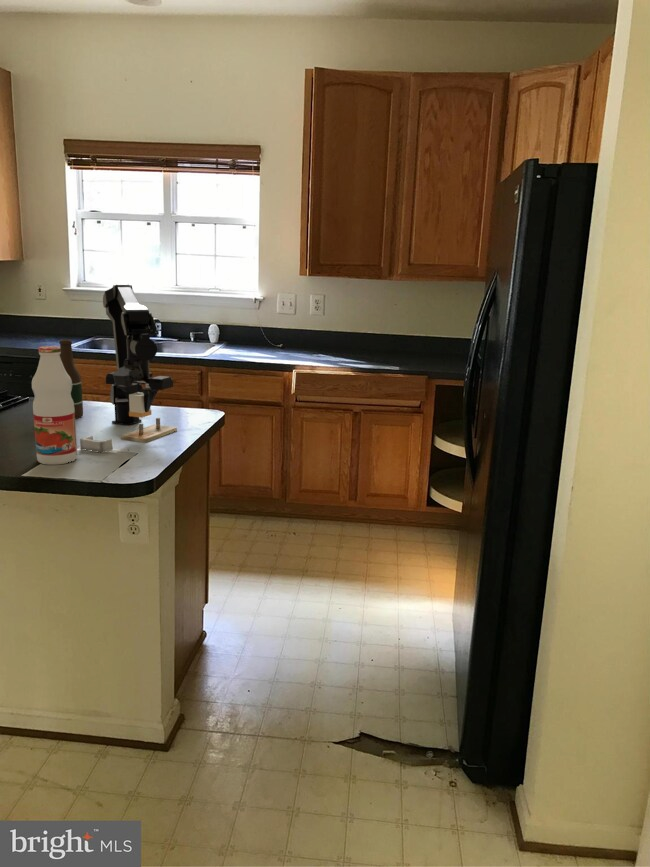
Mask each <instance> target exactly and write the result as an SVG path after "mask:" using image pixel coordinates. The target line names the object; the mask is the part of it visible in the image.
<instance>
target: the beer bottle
mask: <svg viewBox="0 0 650 867" xmlns="http://www.w3.org/2000/svg"><path fill="white" fill-rule="evenodd" d="M58 344H59V347H60V349H61V352H60V353H61V354H60V359H61V361H62V364H63V366H64V368H65V370H66V372H67V374H68V375H69V376H70V378H71V380H72V390H71V397H72V399H73V402H74V410H75V418H76V419H79V417H80V418H81V416H82V417H83V416H84V405H83V401H84V400H83V387H82V386H83V385H82V377H81V374H80V372H79V370H78V368H77V367H76V366H75V363H74V362H75V361H74V357H73V356H74V355H73V349H72V347H73V346H72V344H73V341H72V340H71V339H67V338H63V339H60V340H59V341H58Z"/></svg>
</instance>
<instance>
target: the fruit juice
mask: <svg viewBox="0 0 650 867" xmlns="http://www.w3.org/2000/svg"><path fill="white" fill-rule="evenodd" d="M60 352H61V349H60V346H55V345H44V346H39V347H38V355H39V356H40V357H39V361H38V366H37V367H36V368H37V369H36V372H35V374H34V375H33V377H32V380H31V389H32V392H33V395H34V399H33V401H32V413H33V414H32V415H33V425H34V426H33V429H34V438H35V439H34V440H35V452H36V454H35V455H36V460H37V462H38V463H40V464H42V465H53V466H54V465H55V466H57V465H64V464H68V462H69V463H72V462H74V461H76V460H77V457H78V448H77V446H78V445H77V431H76V430H77V428H76V419H75V410H74V402H73V399H72V397H71V390H72V380H71V378H70V376H69V375H68V374H67V372H66V370H65V368H64V366H63V364H62V361H61V359H60V354H61V353H60ZM75 459H76V460H75ZM71 461H72V462H71Z"/></svg>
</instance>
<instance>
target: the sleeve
mask: <svg viewBox="0 0 650 867" xmlns="http://www.w3.org/2000/svg"><path fill="white" fill-rule="evenodd" d="M129 407H130V412H129V416H133V417H139V419H141V418H145V417H148V416H151V415H152V409H151V408H150V409H149V411H148V412H145V408H144V394H143V393H140V392H137V393H133V394H129Z"/></svg>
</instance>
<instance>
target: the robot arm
mask: <svg viewBox="0 0 650 867" xmlns="http://www.w3.org/2000/svg"><path fill="white" fill-rule="evenodd" d="M102 305H103V308H105V315H106V316H107V317H108V319H109V320H110V321H111V322H112V330H113V338H114V340H113V341H114V349H115V359H116V360H115V361H116V371H114V372H109V373H107V374H106V376H105V377H104V378H105V380H104V381H105V384H106V385H111V387H110V392H109V400H110V403H111V405H114V420H112V421H111V423H112V424H115V425H116V424H118V425H124V426H125V425H126V426H131V425H134V424H138V423H140V422H142V420H143V419H141V418H140V417H133V416H129V412H130V407H129V394H133V393H137V392H140V393H143V394H144V408H145V412H148V411H149V409H151V407H152V404H153V402H154V400H155V398H156V395H157V394H158V392H159V391H163V390H167V389H170V388H173V387H174V379H173V378H172V377H171V376H165V375H164V376H163V375H159V376H158V375H157V376H154V377H153V372H150V363H152V362H153V359H154V358H155V357H156V355H157V352H158V346H157V344H156V342H155V341H154V340H153V339H151V336H155V335H156V331H157V326H156V322H155V320H154V316H153V315H152V312H150V309H148V308H147V306H146V305H143V304H141V303H139V301H138V300H137V298H136V295H135V292H134V290H133V286H132V284H129V283H116V284H113V286H112V287H111V288H109V289H107V290H105V291H104V293H103V297H102ZM142 385H145V386H144V387H145V388H144V387H143V386H142Z"/></svg>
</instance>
